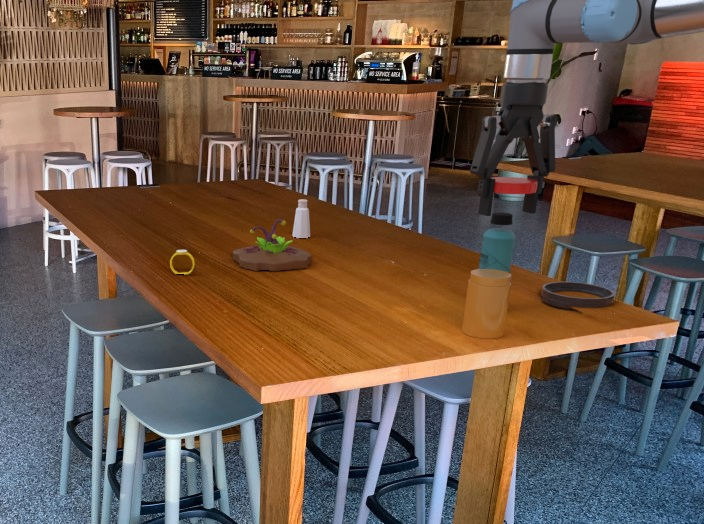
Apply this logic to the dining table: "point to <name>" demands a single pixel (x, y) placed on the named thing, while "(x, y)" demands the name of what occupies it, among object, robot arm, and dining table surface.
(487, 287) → the jar
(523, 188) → the cap
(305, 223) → the pepper shaker
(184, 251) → the gold ring with gem
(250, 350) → the dining table surface
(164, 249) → the dining table surface
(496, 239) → the beverage bottle
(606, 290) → the dark grey ring
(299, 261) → the plant
